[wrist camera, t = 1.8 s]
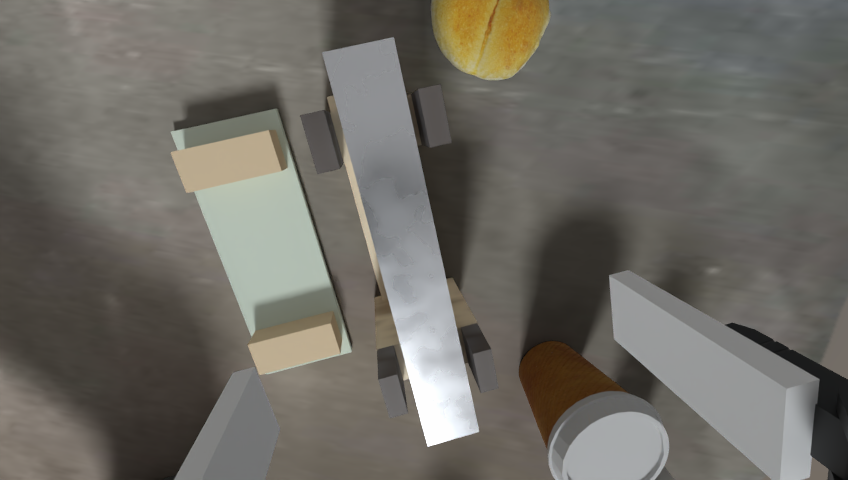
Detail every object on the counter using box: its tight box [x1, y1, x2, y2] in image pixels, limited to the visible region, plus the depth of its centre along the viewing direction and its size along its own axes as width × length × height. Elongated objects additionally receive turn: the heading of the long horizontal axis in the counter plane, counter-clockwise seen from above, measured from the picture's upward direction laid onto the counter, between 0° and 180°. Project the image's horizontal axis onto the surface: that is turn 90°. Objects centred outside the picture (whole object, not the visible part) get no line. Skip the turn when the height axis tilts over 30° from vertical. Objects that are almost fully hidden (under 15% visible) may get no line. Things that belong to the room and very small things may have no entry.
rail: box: [322, 37, 479, 446], centre depth 25 cm, size 4×24×4 cm, turn 12°
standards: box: [300, 84, 498, 418], centre depth 29 cm, size 7×22×12 cm, turn 12°
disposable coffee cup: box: [519, 341, 669, 480], centre depth 36 cm, size 10×10×12 cm
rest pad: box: [171, 109, 352, 375], centre depth 33 cm, size 8×22×3 cm, turn 12°
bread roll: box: [431, 0, 551, 80], centre depth 30 cm, size 8×9×4 cm
